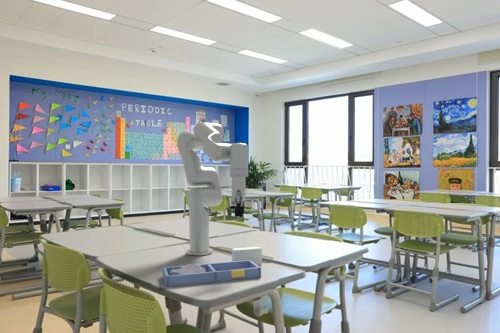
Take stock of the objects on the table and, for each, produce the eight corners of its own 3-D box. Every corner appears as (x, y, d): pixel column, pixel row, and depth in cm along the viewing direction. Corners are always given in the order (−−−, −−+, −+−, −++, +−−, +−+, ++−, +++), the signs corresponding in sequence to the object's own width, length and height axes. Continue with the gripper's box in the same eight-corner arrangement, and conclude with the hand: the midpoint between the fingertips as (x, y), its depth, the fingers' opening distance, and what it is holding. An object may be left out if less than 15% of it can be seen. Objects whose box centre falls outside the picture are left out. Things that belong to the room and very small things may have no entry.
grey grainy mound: (208, 281, 145) (191, 271, 152) (210, 269, 145) (192, 260, 151) (184, 290, 136) (166, 279, 142) (185, 277, 135) (168, 267, 142)
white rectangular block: (231, 265, 164) (231, 248, 164) (258, 262, 168) (258, 246, 168) (234, 267, 160) (234, 250, 160) (261, 264, 164) (261, 248, 164)
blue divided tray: (162, 276, 147) (162, 267, 147) (250, 268, 158) (250, 259, 158) (166, 287, 134) (166, 276, 134) (261, 277, 145) (261, 267, 145)
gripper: (231, 173, 167) (232, 212, 167) (228, 173, 149) (228, 218, 149) (249, 173, 166) (249, 212, 166) (247, 173, 149) (248, 217, 149)
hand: (239, 215), depth 158 cm, fingers open, 9 cm apart
